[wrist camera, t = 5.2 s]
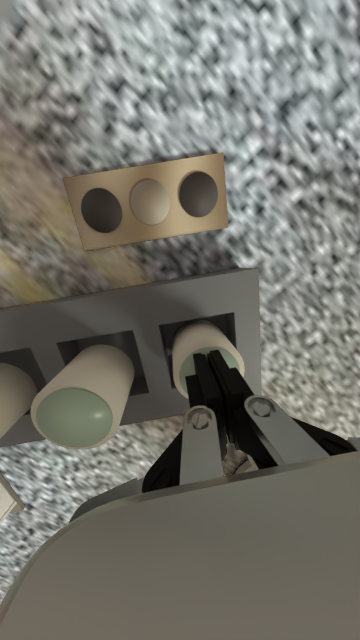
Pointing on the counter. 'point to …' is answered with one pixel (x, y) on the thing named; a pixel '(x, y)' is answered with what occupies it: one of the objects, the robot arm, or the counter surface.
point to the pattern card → (149, 201)
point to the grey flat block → (132, 336)
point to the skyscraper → (8, 500)
